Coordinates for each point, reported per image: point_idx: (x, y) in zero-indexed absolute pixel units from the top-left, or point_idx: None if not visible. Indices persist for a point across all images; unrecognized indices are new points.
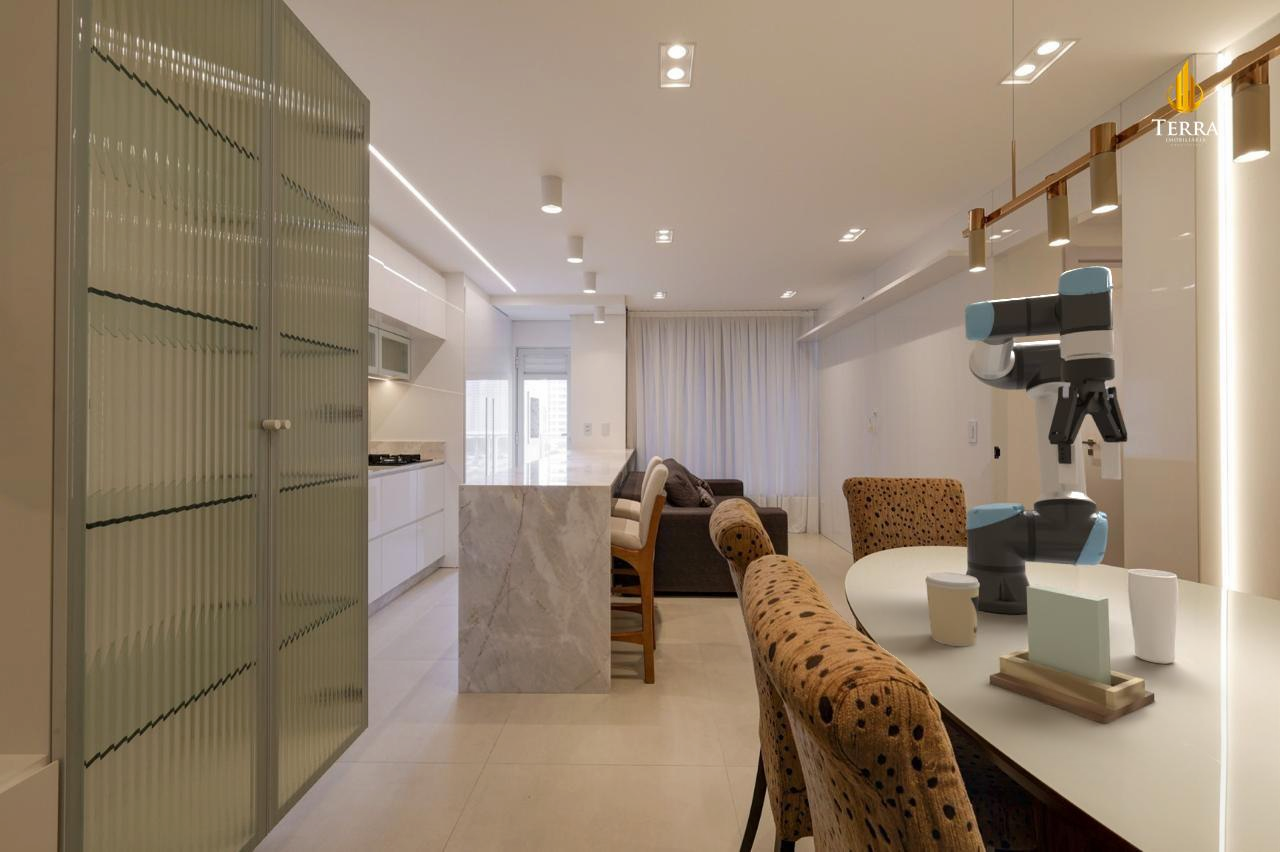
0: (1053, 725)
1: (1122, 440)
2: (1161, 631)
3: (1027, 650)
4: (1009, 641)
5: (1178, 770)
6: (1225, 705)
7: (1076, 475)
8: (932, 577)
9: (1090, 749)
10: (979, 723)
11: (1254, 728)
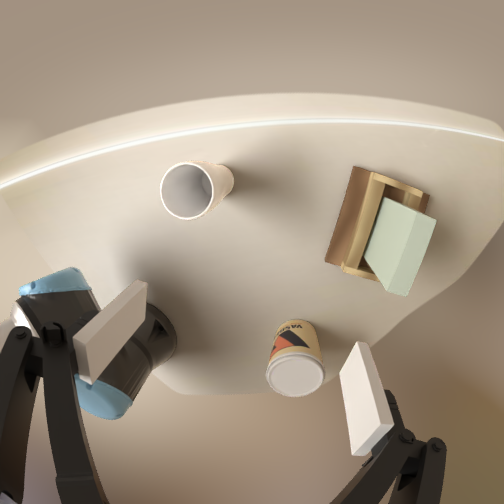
0: (447, 223)
1: (64, 334)
2: (226, 173)
3: (356, 271)
4: (262, 298)
5: (463, 152)
6: (318, 119)
7: (370, 356)
8: (305, 390)
9: (467, 198)
10: (466, 261)
11: (359, 103)
